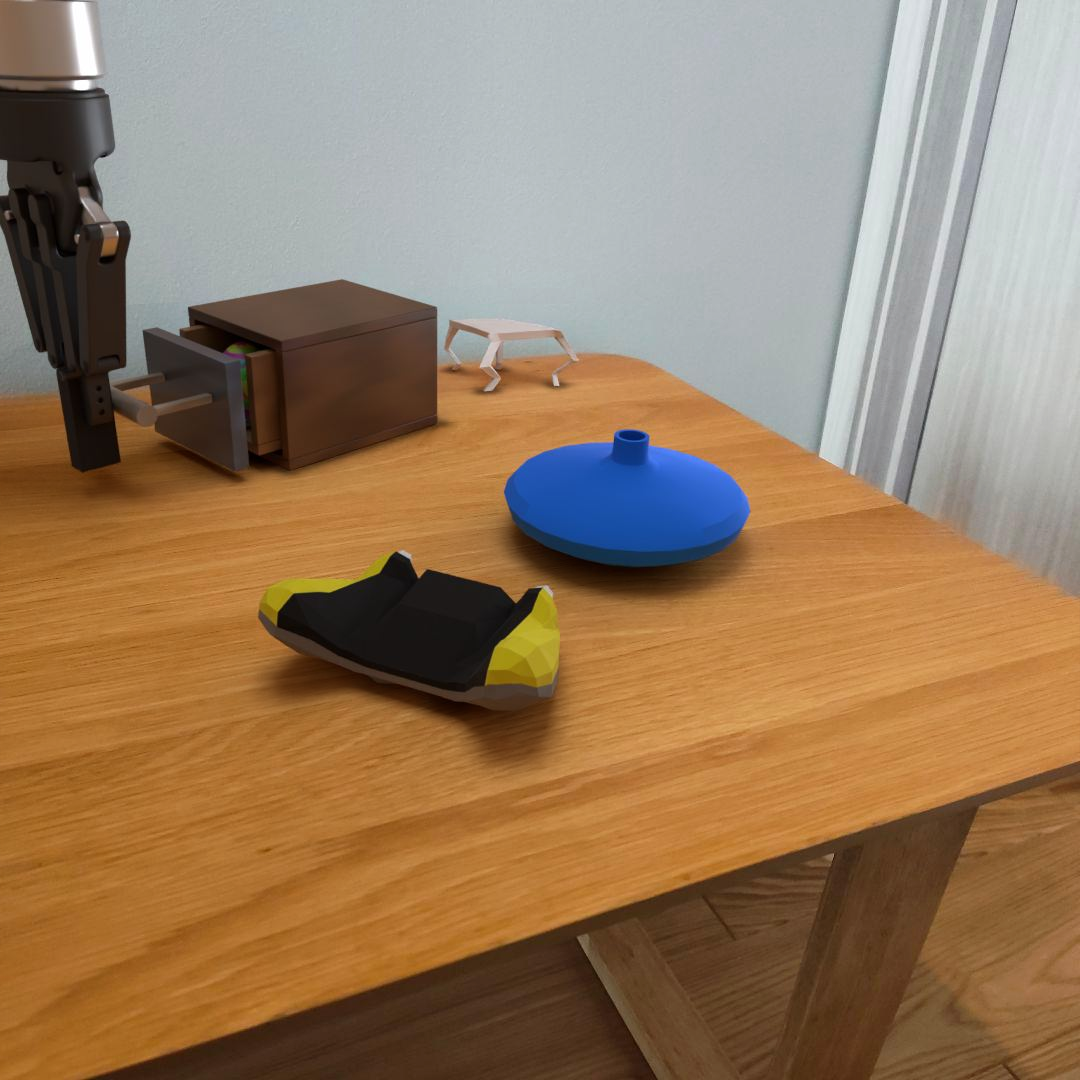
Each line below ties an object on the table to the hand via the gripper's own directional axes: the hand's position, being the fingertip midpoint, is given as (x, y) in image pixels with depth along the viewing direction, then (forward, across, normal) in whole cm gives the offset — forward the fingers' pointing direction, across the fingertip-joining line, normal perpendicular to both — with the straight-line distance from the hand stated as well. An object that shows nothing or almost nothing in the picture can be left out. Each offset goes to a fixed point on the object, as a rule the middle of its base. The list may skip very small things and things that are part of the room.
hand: (96, 463), depth 71 cm
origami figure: (+2, +2, +39) cm, 39 cm away
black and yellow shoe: (+2, +32, +1) cm, 32 cm away
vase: (+2, +29, +21) cm, 36 cm away
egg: (0, 0, +12) cm, 12 cm away
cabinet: (+2, 0, +19) cm, 19 cm away
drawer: (+1, 0, +11) cm, 11 cm away
